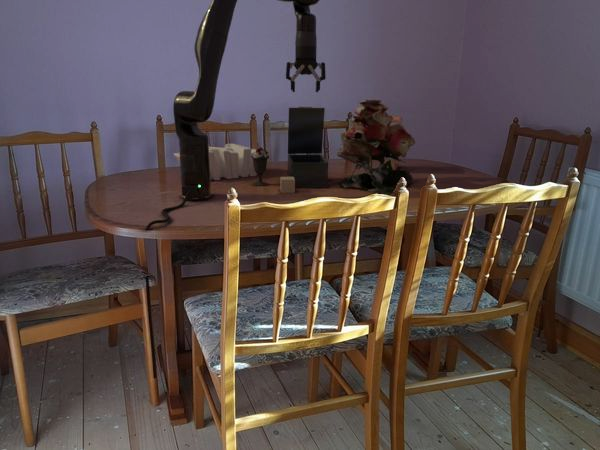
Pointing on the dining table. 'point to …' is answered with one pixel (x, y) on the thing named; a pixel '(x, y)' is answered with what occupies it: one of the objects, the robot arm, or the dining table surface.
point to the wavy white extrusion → (229, 161)
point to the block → (287, 184)
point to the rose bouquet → (375, 148)
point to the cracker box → (394, 162)
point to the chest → (308, 170)
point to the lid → (305, 130)
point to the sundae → (260, 164)
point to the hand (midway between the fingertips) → (305, 92)
